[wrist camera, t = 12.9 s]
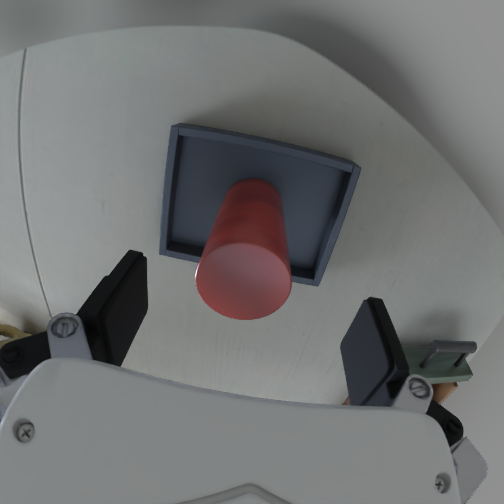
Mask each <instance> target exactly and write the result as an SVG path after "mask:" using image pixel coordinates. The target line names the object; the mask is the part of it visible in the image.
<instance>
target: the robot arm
mask: <svg viewBox="0 0 504 504" xmlns="http://www.w3.org/2000/svg"><path fill="white" fill-rule="evenodd" d="M147 310H148V290H147V258H146V257H145V256H143V253H142V252H138V251H134V250H129V251H128V252H127V253H126V254H125V256H124V257H123V258H122V259H121V260H120V262H119V263H118V264H117V265H116V267H115V268H114V269H113V271H112V272H111V273H110V274H109V276H105V277H104V278H103V279H102V280H101V282H100V283H99V284H98V285H97V287H96V288H95V289H94V291H93V292H92V293H91V295H90V296H89V297H88V299H87V300H86V301H85V303H84V304H83V305H82V307H81V308H80V310H79V311H78V312H77V314H76V315H75V314H73V313H60V314H58V315H56V316H54V317H53V318H52V319H51V320H50V321H49V323H48V325H47V331H45V332H41V333H38V334H35V335H31V336H28V337H24V338H21V339H17V340H14V341H10V342H8V343H6V344H5V345H3V346H2V347H1V349H0V504H466V503H467V501H468V500H469V499H470V498H471V496H472V495H473V494H474V492H475V491H476V490H477V488H478V487H479V486H480V484H481V483H482V481H483V480H484V478H485V477H486V475H487V471H488V467H487V463H486V461H485V460H484V459H483V457H482V456H481V455H480V453H479V452H478V451H477V449H476V448H475V447H474V445H473V444H472V443H471V442H470V440H469V439H468V438H467V437H465V438H463V426H462V423H461V422H460V420H459V419H458V418H457V417H456V416H454V415H453V414H452V413H450V412H449V411H448V410H446V409H445V408H444V407H442V406H441V405H440V404H438V403H437V402H436V401H434V400H433V399H432V397H433V388H432V385H431V383H430V382H429V381H428V380H427V379H426V378H425V377H423V376H421V375H418V374H411V375H410V373H409V370H410V368H409V365H408V362H407V360H406V357H405V354H404V352H403V349H402V346H401V344H400V341H399V339H398V336H397V334H396V331H395V329H394V326H393V324H392V321H391V319H390V316H389V314H388V312H387V309H386V307H385V305H384V302H383V300H382V299H379V298H373V297H369V298H368V299H367V300H364V301H363V303H362V305H361V307H360V308H359V310H358V312H357V314H356V316H355V318H354V320H353V322H352V324H351V325H350V327H349V329H348V331H347V333H346V335H345V336H344V338H343V340H342V342H341V346H340V349H341V354H342V359H343V365H344V370H345V375H346V381H347V387H348V393H349V399H350V405H351V406H349V405H327V404H312V403H301V402H290V401H281V400H273V399H265V398H258V397H251V396H244V395H238V394H232V393H226V392H221V391H216V390H210V389H205V388H201V387H196V386H191V385H187V384H182V383H178V382H174V381H170V380H166V379H162V378H158V377H154V376H151V375H147V374H143V373H139V372H136V371H132V370H129V369H125V368H122V367H121V365H122V363H123V360H124V358H125V356H126V354H127V352H128V350H129V348H130V346H131V343H132V341H133V339H134V337H135V335H136V333H137V331H138V329H139V327H140V325H141V323H142V321H143V319H144V317H145V315H146V313H147Z"/></svg>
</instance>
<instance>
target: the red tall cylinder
mask: <svg viewBox="0 0 504 504" xmlns="http://www.w3.org/2000/svg"><path fill="white" fill-rule="evenodd" d="M195 282H196V287H197V290H198V292H199V294H200V296H201V298H202V299H203V301H204V302H205V303H206V304H207V305H208V306H209V307H210V308H212V309H213V310H214V311H216V312H218V313H219V314H222V315H224V316H226V317H229V318H233V319H240V320H253V319H258V318H262V317H265V316H268V315H270V314H272V313H273V312H275V311H276V310H278V309H279V308H280V307H281V306H282V305H283V304H284V303H285V301H286V300H287V298H288V296H289V294H290V291H291V287H292V277H291V268H290V260H289V252H288V244H287V236H286V228H285V220H284V213H283V206H282V200H281V196H280V194H279V192H278V191H277V189H276V188H275V187H274V186H273V185H272V184H270V183H269V182H267V181H265V180H262V179H259V178H246V179H243V180H240V181H238V182H236V183H235V184H234V185H232V186H231V187H230V189H229V190H228V191H227V193H226V195H225V198H224V200H223V203H222V205H221V207H220V210H219V212H218V215H217V217H216V220H215V222H214V225H213V227H212V230H211V232H210V235H209V237H208V240H207V242H206V245H205V248H204V250H203V253H202V255H201V258H200V261H199V263H198V266H197V269H196V274H195Z"/></svg>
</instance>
